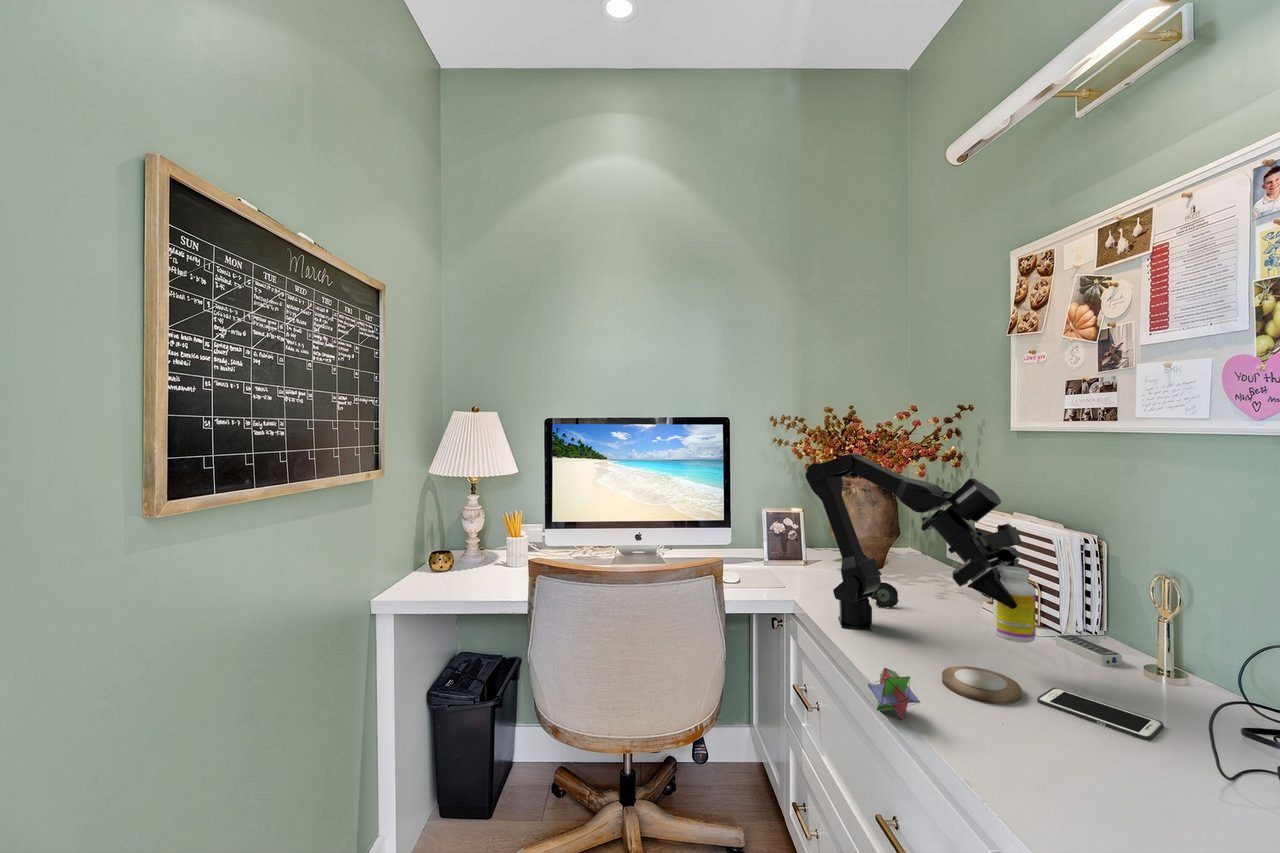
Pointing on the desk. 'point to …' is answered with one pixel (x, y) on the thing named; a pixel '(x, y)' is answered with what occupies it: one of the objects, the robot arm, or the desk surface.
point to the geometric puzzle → (893, 692)
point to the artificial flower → (885, 595)
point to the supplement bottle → (1022, 618)
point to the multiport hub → (1089, 650)
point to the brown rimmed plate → (981, 685)
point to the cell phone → (1102, 713)
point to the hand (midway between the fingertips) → (1022, 603)
